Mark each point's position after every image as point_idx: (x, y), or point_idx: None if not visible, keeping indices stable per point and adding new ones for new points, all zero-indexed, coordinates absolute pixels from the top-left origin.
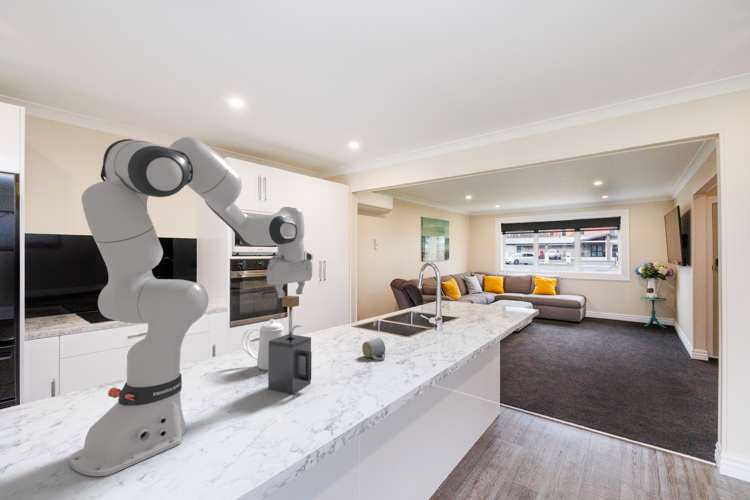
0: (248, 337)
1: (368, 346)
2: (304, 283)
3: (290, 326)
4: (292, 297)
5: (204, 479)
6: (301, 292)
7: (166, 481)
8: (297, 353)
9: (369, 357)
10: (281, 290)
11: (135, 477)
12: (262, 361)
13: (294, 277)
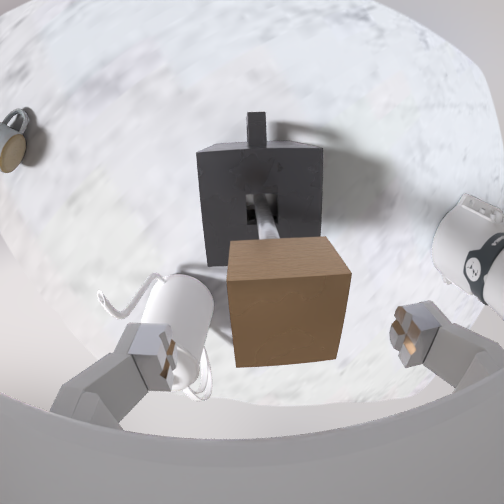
0: (200, 386)
1: (9, 144)
2: (63, 393)
3: (273, 222)
4: (333, 279)
5: (486, 116)
6: (140, 330)
7: (495, 151)
8: (286, 145)
9: (25, 141)
10: (471, 332)
11: (497, 184)
12: (211, 310)
13: (367, 499)
